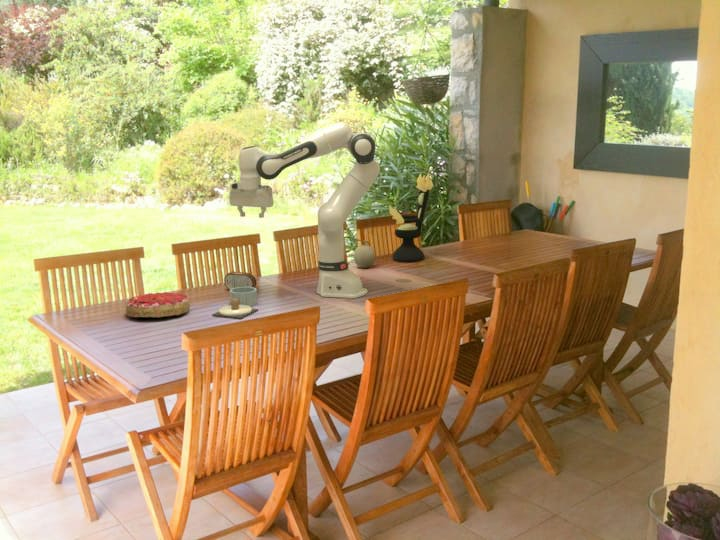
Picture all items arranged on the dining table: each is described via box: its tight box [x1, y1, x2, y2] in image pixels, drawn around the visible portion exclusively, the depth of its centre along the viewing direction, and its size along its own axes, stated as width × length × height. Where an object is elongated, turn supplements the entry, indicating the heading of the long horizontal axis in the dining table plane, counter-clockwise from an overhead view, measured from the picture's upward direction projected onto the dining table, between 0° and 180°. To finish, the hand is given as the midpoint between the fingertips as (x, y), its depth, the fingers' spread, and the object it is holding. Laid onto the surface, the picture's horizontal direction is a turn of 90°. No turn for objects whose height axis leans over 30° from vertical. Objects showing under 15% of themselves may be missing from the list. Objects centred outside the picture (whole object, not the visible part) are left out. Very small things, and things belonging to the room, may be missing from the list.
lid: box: [218, 298, 253, 316], centre depth 309 cm, size 13×13×5 cm
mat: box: [212, 308, 259, 320], centre depth 310 cm, size 13×13×1 cm
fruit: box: [351, 238, 376, 269], centre depth 388 cm, size 10×12×15 cm
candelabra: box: [388, 172, 434, 263], centre depth 402 cm, size 19×22×45 cm
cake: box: [125, 291, 191, 319], centre depth 311 cm, size 25×25×8 cm
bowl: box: [229, 287, 258, 307], centre depth 323 cm, size 11×11×6 cm
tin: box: [223, 271, 257, 291], centre depth 346 cm, size 15×3×8 cm, turn 71°
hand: (252, 217), depth 333 cm, fingers open, 8 cm apart
